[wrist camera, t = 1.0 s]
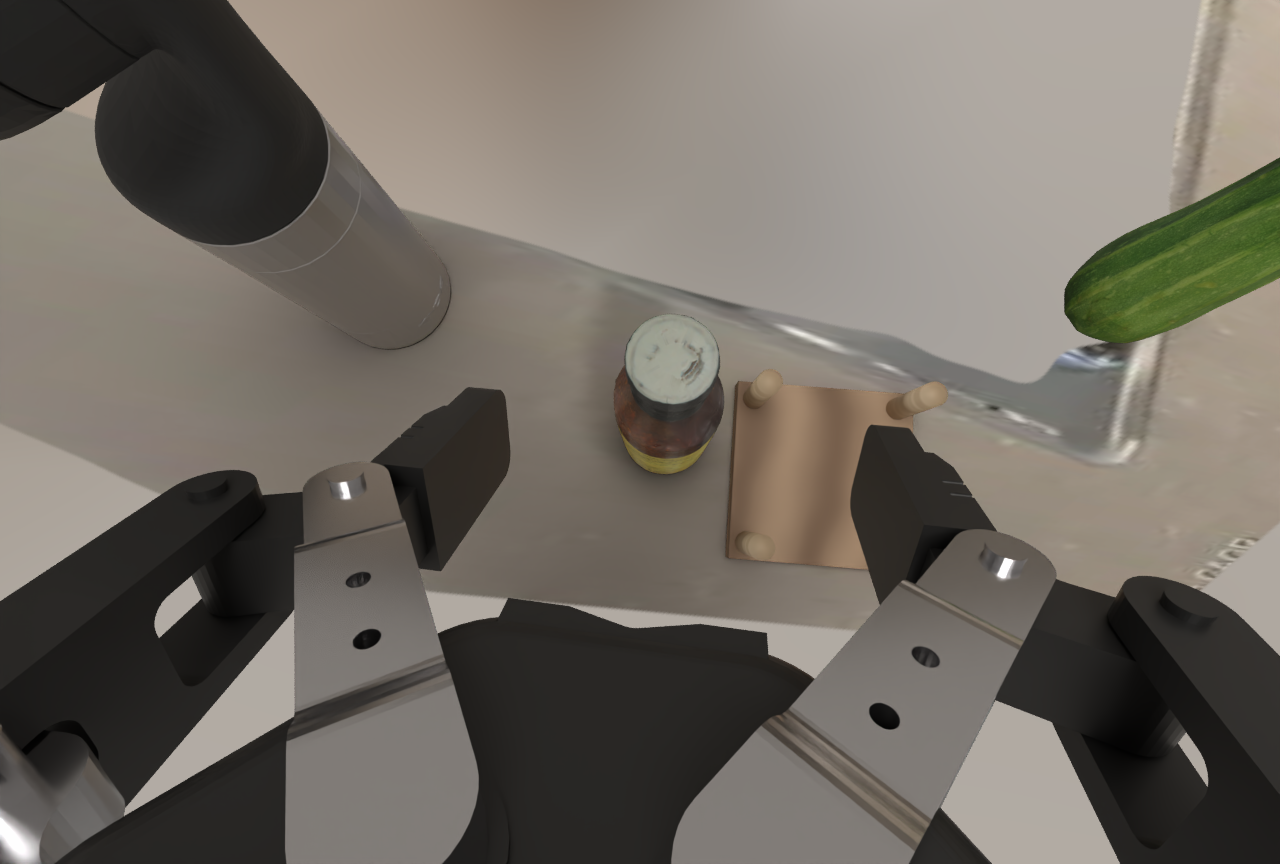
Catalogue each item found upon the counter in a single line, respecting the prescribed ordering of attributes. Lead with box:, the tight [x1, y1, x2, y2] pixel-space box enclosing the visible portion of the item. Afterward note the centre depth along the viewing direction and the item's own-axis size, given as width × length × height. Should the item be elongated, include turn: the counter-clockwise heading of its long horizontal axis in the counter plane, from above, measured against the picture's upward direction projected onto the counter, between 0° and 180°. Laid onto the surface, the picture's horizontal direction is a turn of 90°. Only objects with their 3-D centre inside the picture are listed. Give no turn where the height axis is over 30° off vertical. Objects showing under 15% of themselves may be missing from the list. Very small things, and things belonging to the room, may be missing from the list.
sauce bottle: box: [614, 314, 724, 474], centre depth 33 cm, size 7×6×20 cm
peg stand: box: [726, 369, 948, 569], centre depth 39 cm, size 13×13×7 cm
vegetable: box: [1064, 158, 1280, 343], centre depth 34 cm, size 7×7×20 cm
